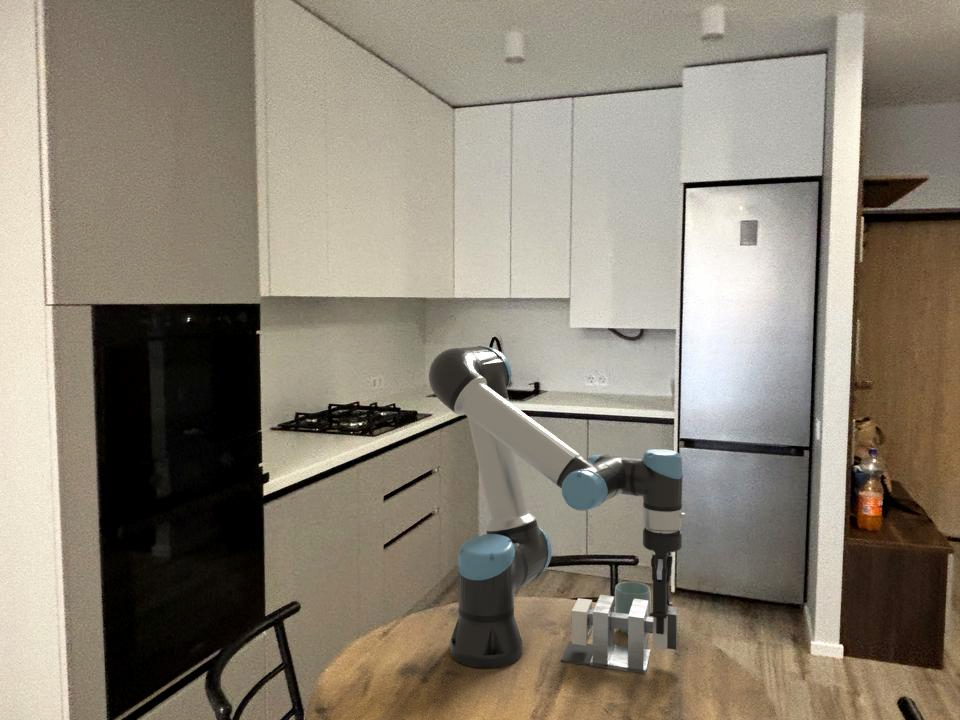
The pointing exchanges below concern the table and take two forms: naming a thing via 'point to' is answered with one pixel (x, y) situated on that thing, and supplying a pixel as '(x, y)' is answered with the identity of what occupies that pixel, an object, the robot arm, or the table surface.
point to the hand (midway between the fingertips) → (661, 642)
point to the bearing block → (603, 638)
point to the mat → (578, 654)
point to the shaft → (622, 623)
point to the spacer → (581, 622)
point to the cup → (630, 597)
